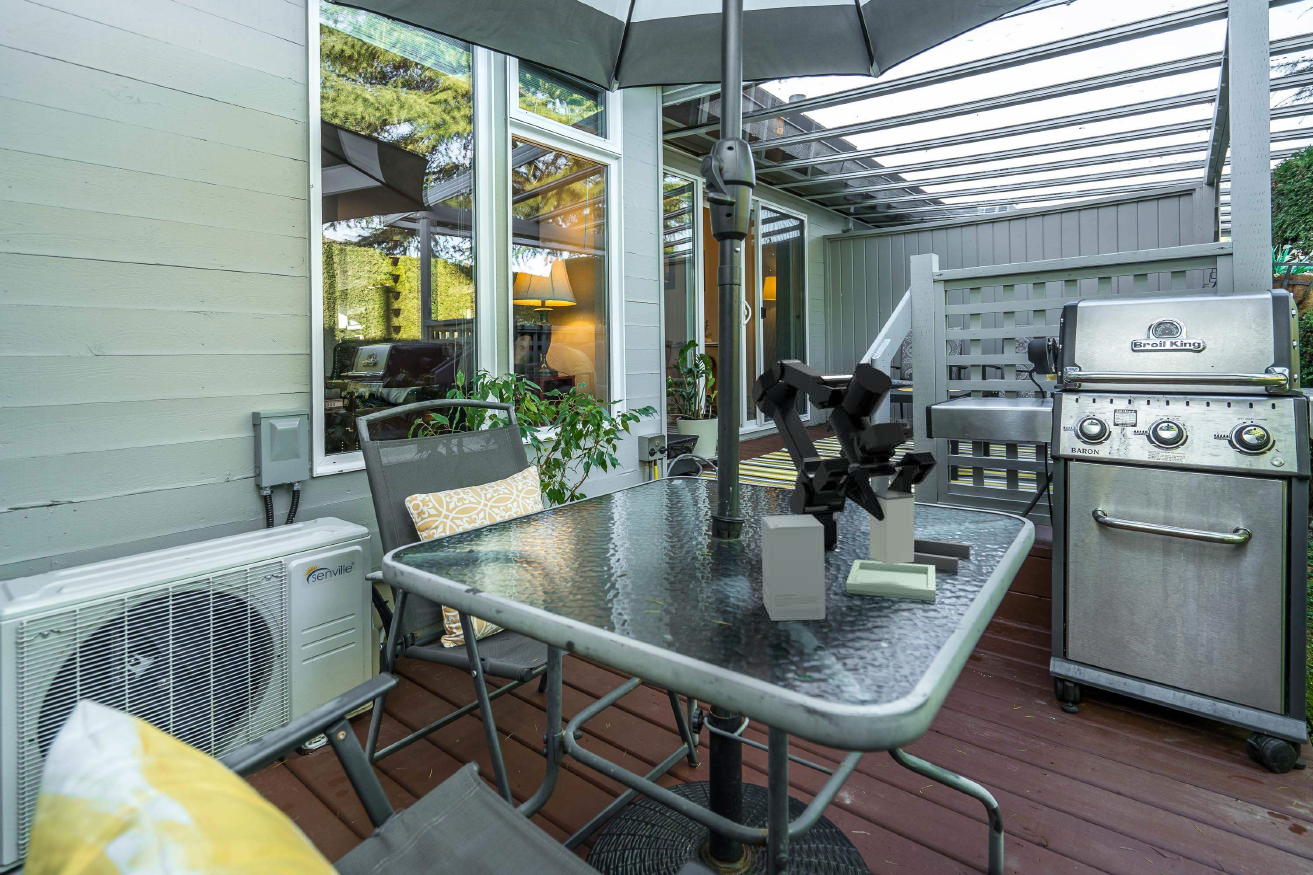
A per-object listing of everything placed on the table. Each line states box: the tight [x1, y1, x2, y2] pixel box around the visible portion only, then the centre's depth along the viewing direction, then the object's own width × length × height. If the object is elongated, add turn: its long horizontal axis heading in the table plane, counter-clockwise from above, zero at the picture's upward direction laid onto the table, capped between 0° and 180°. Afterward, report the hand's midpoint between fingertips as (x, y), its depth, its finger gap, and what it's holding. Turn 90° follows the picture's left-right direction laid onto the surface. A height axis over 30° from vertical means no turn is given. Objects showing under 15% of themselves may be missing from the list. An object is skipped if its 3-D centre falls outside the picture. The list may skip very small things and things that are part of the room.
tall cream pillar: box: [869, 490, 915, 565], centre depth 98 cm, size 4×4×10 cm
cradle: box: [906, 537, 971, 573], centre depth 110 cm, size 10×10×2 cm
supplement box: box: [760, 514, 826, 622], centre depth 89 cm, size 7×7×13 cm
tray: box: [845, 559, 937, 602], centre depth 99 cm, size 12×12×2 cm
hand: (896, 517), depth 97 cm, fingers closed on tall cream pillar, 4 cm apart
